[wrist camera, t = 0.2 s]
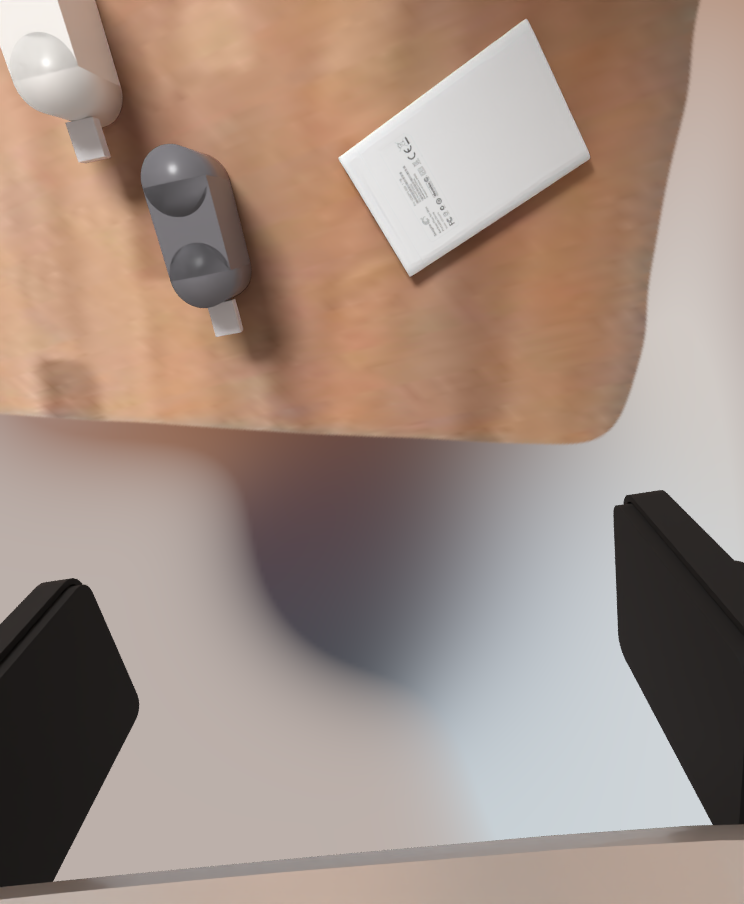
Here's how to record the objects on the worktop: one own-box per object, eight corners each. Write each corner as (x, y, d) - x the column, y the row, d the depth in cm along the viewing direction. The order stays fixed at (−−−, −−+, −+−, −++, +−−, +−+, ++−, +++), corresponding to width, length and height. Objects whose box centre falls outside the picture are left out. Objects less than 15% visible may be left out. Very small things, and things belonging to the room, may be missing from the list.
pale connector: (17, -41, 32) (-46, -84, 27) (78, -56, 32) (24, -103, 27) (86, 169, 36) (41, 162, 31) (141, 157, 35) (104, 148, 31)
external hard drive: (583, 160, 35) (409, 276, 38) (520, 25, 33) (339, 159, 36) (592, 158, 34) (410, 278, 37) (527, 15, 31) (337, 156, 34)
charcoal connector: (165, 160, 35) (131, 151, 31) (221, 147, 35) (196, 137, 31) (213, 331, 39) (190, 346, 35) (264, 321, 39) (248, 335, 34)
